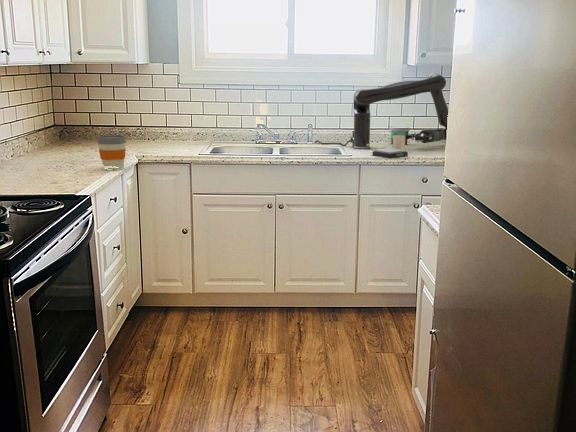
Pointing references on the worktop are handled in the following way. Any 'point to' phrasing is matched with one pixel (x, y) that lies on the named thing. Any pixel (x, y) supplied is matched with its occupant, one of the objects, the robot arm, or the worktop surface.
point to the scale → (390, 153)
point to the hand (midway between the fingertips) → (409, 138)
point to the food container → (399, 132)
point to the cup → (399, 142)
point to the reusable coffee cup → (112, 150)
